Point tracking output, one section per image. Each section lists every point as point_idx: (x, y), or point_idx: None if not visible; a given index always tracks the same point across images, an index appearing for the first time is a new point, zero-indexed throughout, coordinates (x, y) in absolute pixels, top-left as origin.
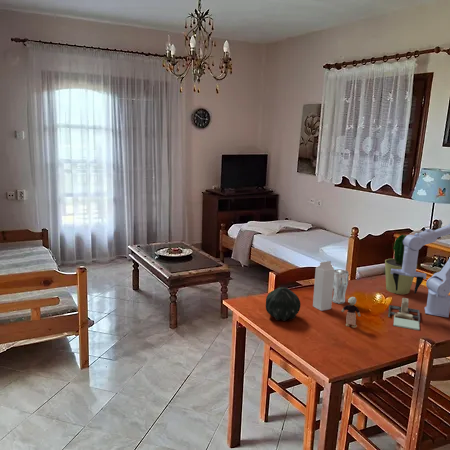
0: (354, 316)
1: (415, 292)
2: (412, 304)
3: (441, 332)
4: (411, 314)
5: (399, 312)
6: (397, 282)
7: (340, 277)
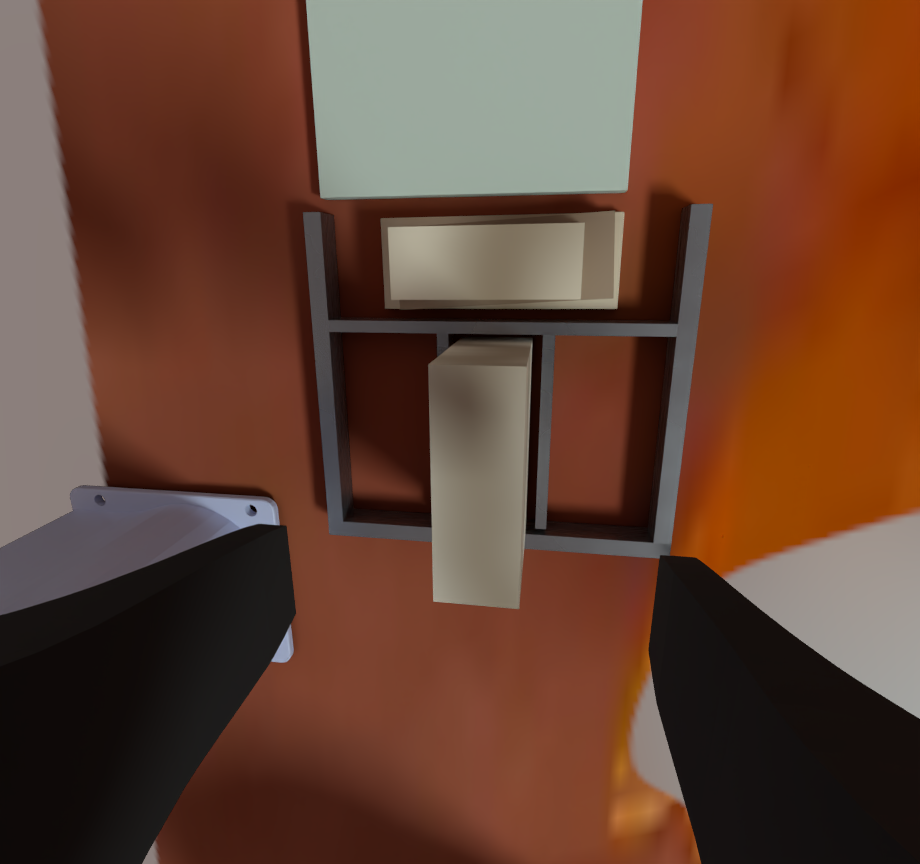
0: None
1: (250, 530)
2: (408, 700)
3: (78, 15)
4: (402, 298)
5: (556, 297)
6: (790, 699)
7: None
